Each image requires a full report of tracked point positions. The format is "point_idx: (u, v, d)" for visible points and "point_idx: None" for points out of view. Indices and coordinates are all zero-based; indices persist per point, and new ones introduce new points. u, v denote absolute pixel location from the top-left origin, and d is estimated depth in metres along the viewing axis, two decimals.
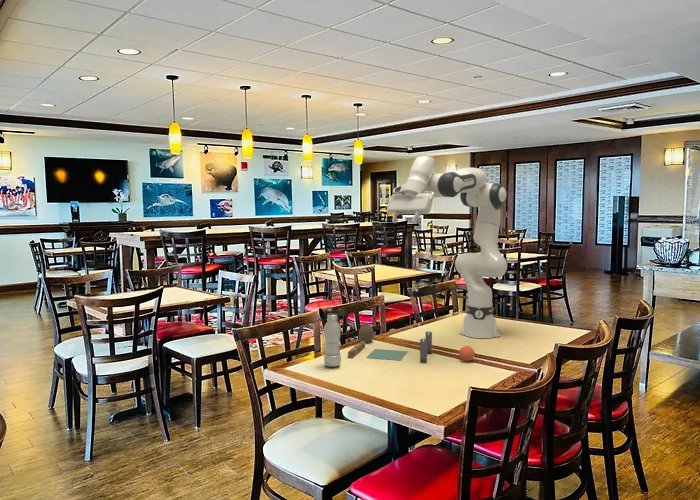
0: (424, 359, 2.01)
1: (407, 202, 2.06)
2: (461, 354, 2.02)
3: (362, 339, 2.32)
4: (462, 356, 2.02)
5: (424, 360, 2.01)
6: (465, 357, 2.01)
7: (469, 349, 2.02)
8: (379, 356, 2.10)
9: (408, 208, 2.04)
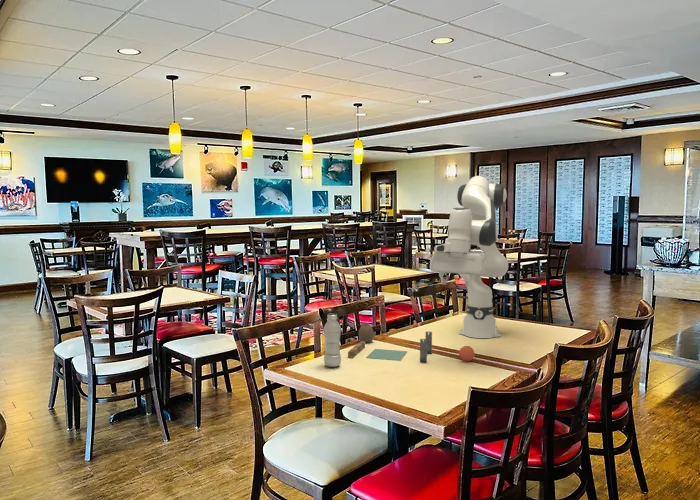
0: (424, 359, 2.01)
1: (456, 263, 1.96)
2: (461, 354, 2.02)
3: (362, 339, 2.32)
4: (462, 356, 2.02)
5: (424, 360, 2.01)
6: (465, 357, 2.01)
7: (469, 349, 2.02)
8: (379, 356, 2.10)
9: (459, 271, 1.94)
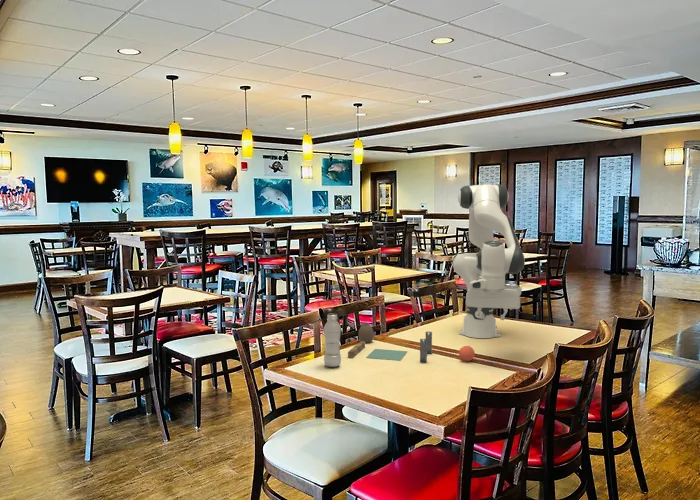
0: (424, 359, 2.01)
1: (493, 299, 1.98)
2: (461, 354, 2.02)
3: (362, 339, 2.32)
4: (462, 356, 2.02)
5: (424, 360, 2.01)
6: (465, 357, 2.01)
7: (469, 349, 2.02)
8: (379, 356, 2.10)
9: (497, 306, 1.97)
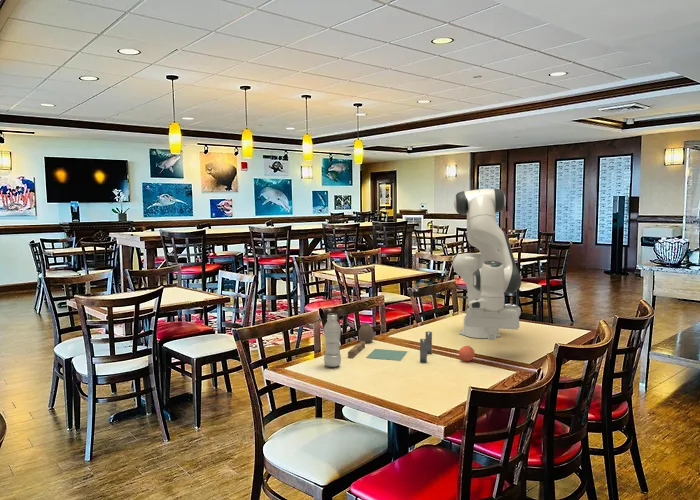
0: (424, 359, 2.01)
1: (492, 319, 1.98)
2: (461, 354, 2.02)
3: (362, 339, 2.32)
4: (462, 356, 2.02)
5: (424, 360, 2.01)
6: (465, 357, 2.01)
7: (469, 349, 2.02)
8: (379, 356, 2.10)
9: (496, 326, 1.98)
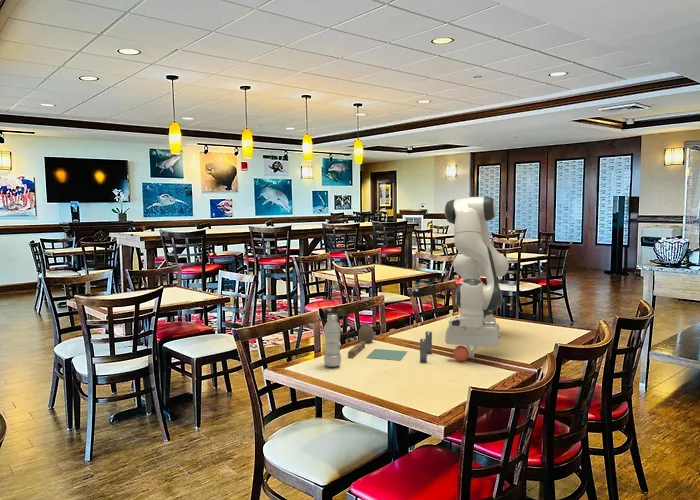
0: (424, 359, 2.01)
1: (472, 337, 2.00)
2: (455, 356, 2.03)
3: (362, 339, 2.32)
4: (456, 357, 2.02)
5: (424, 360, 2.01)
6: (459, 357, 2.02)
7: (461, 349, 2.02)
8: (379, 356, 2.10)
9: (476, 344, 2.00)
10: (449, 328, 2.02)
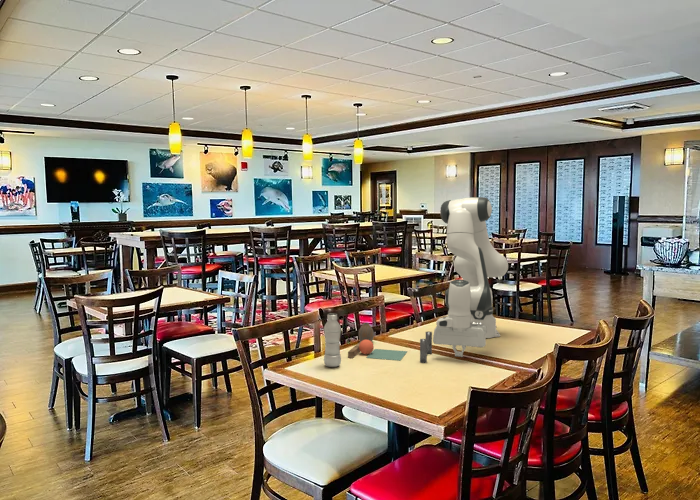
0: (424, 359, 2.01)
1: (459, 337, 2.03)
2: (360, 350, 2.13)
3: (362, 339, 2.32)
4: (362, 351, 2.13)
5: (424, 360, 2.01)
6: (364, 351, 2.12)
7: (364, 342, 2.13)
8: (379, 356, 2.10)
9: (463, 344, 2.02)
10: (437, 328, 2.04)
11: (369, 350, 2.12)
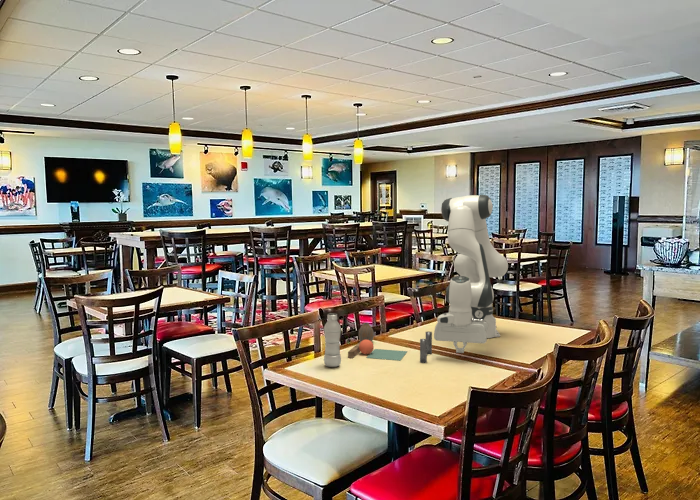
0: (424, 359, 2.01)
1: (460, 333, 2.03)
2: (360, 350, 2.13)
3: (362, 339, 2.32)
4: (362, 351, 2.13)
5: (424, 360, 2.01)
6: (364, 351, 2.12)
7: (364, 342, 2.13)
8: (379, 356, 2.10)
9: (464, 340, 2.02)
10: (437, 325, 2.04)
11: (369, 350, 2.12)
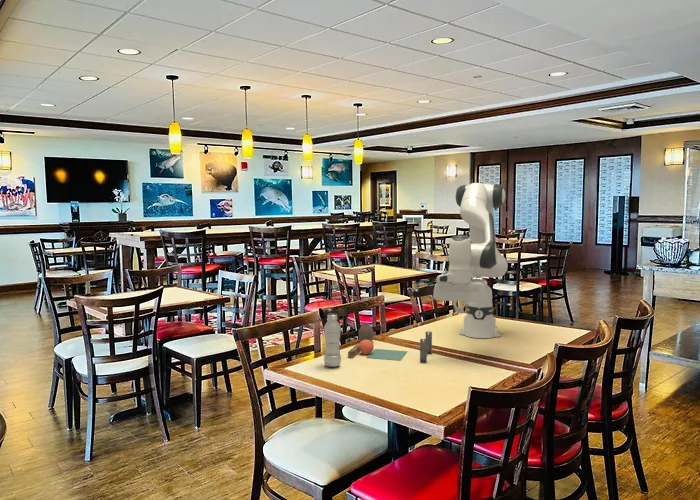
0: (424, 359, 2.01)
1: (459, 292, 2.01)
2: (360, 350, 2.13)
3: (362, 339, 2.32)
4: (362, 351, 2.13)
5: (424, 360, 2.01)
6: (364, 351, 2.12)
7: (364, 342, 2.13)
8: (379, 356, 2.10)
9: (463, 299, 2.01)
10: (437, 284, 2.03)
11: (369, 350, 2.12)
